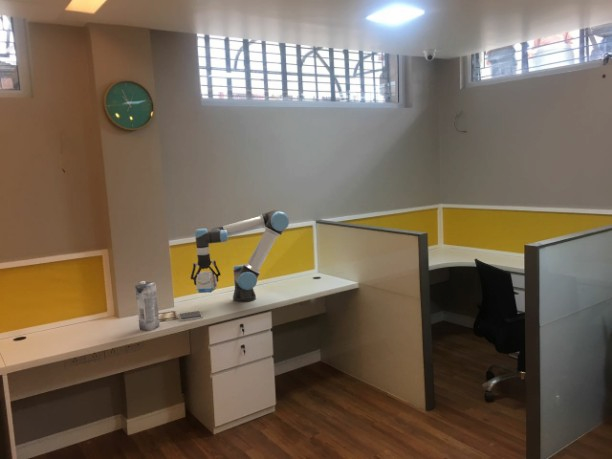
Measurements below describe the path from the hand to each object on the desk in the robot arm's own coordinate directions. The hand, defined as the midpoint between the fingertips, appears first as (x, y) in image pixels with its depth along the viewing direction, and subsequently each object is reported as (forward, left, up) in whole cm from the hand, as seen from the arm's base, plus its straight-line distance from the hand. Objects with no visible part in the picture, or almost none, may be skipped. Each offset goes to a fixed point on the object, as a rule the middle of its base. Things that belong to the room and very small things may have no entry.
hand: (206, 288), depth 332 cm
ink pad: (+12, +11, -13) cm, 21 cm away
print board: (+27, +5, -13) cm, 31 cm away
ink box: (0, 0, -2) cm, 2 cm away
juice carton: (+36, +22, -14) cm, 45 cm away
